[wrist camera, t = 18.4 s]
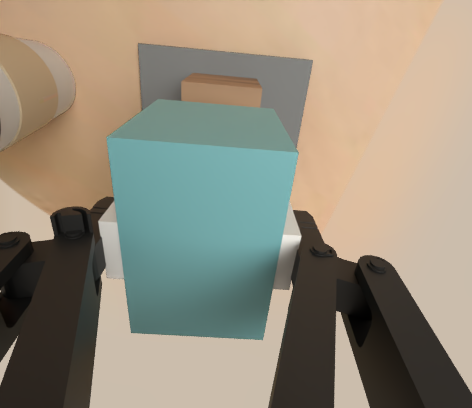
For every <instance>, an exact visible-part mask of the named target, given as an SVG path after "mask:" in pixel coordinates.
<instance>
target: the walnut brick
mask: <svg viewBox="0 0 472 408" xmlns="http://www.w3.org/2000/svg"><path fill="white" fill-rule="evenodd" d="M261 96H262V87H261V85H260V84H259V82H258V80H257V79H255V78H244V77H234V76H223V75H212V74H202V73H192V74H191V75H189V76H188V77H187V78H185V79H184V80H182V81H181V101H188V102H199V103H211V104H223V105H235V106H246V107H258V108H260V104H261Z"/></svg>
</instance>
